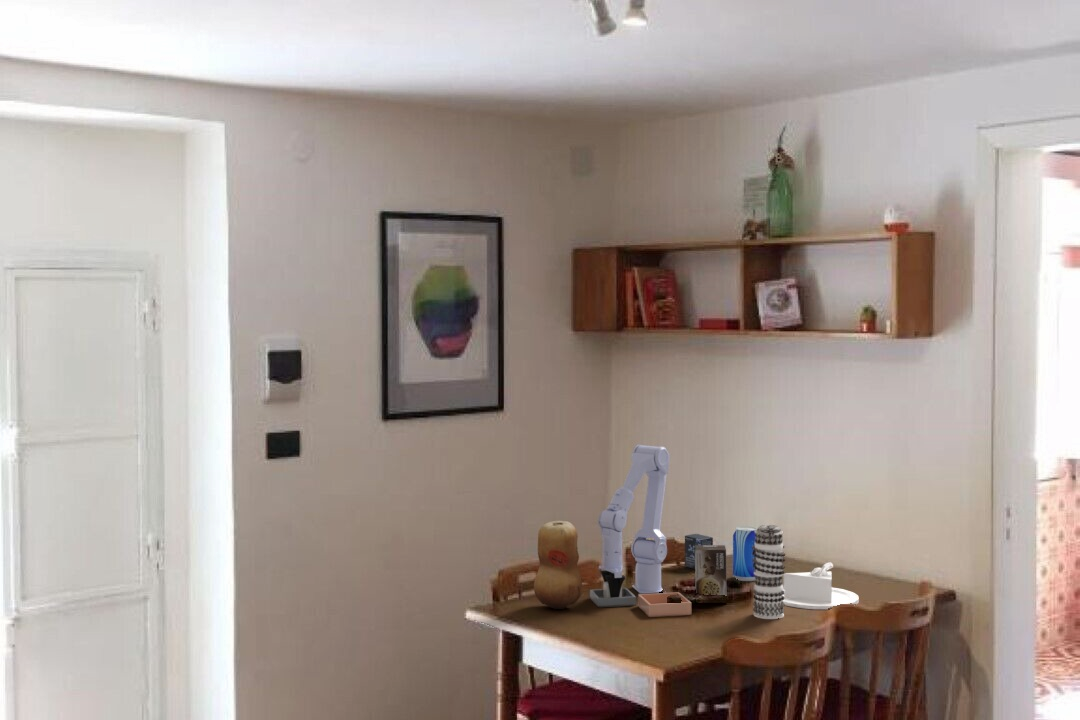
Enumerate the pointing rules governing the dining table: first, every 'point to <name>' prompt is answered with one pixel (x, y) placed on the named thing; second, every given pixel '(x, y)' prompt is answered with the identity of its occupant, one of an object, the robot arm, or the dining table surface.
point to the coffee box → (710, 569)
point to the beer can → (743, 553)
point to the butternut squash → (558, 565)
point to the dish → (815, 590)
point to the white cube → (606, 590)
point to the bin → (663, 605)
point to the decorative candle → (768, 572)
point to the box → (690, 547)
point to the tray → (625, 600)
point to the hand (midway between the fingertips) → (612, 597)
